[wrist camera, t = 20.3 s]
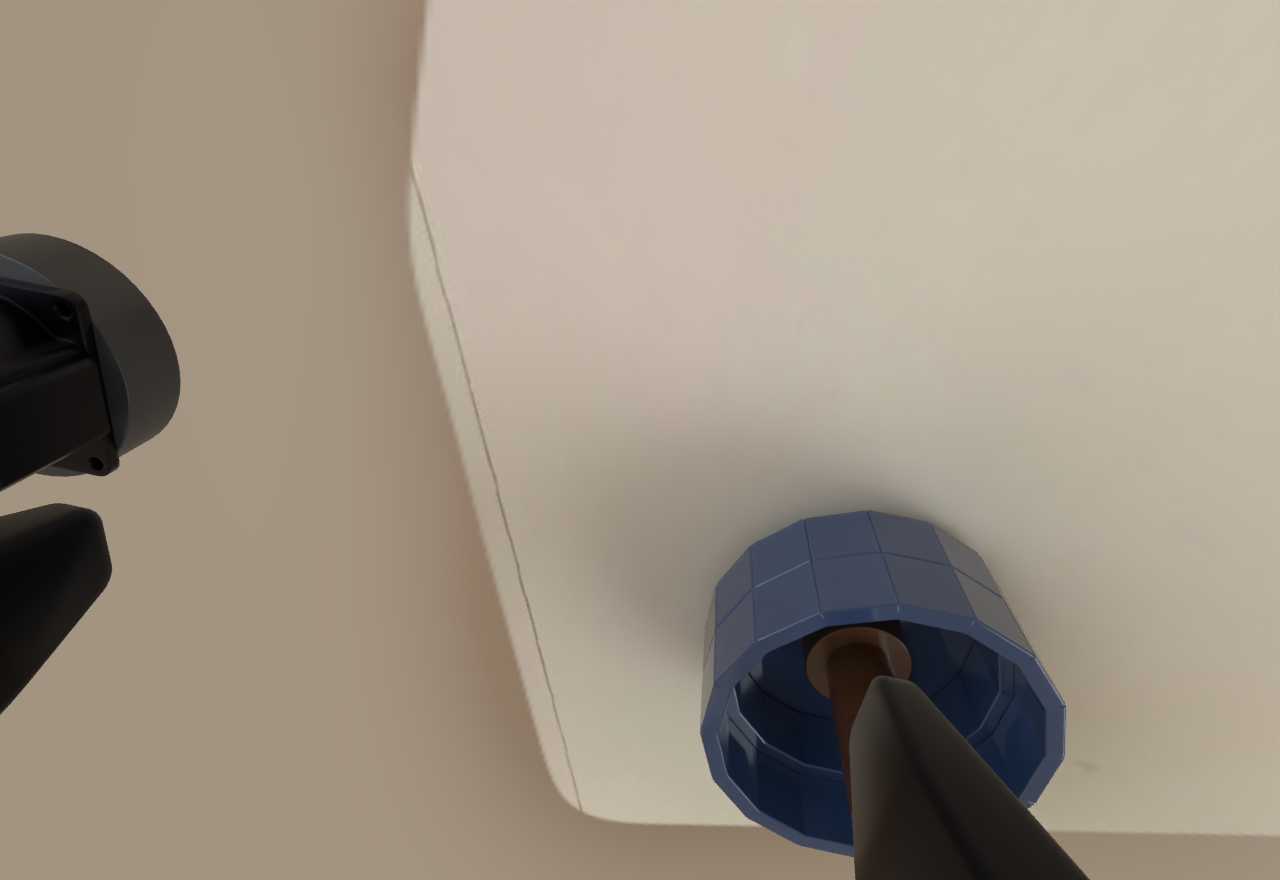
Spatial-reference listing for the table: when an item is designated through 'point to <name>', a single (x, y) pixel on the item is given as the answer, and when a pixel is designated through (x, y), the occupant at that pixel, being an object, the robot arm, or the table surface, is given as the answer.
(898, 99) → the table surface
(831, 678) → the muddler
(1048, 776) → the bowl
